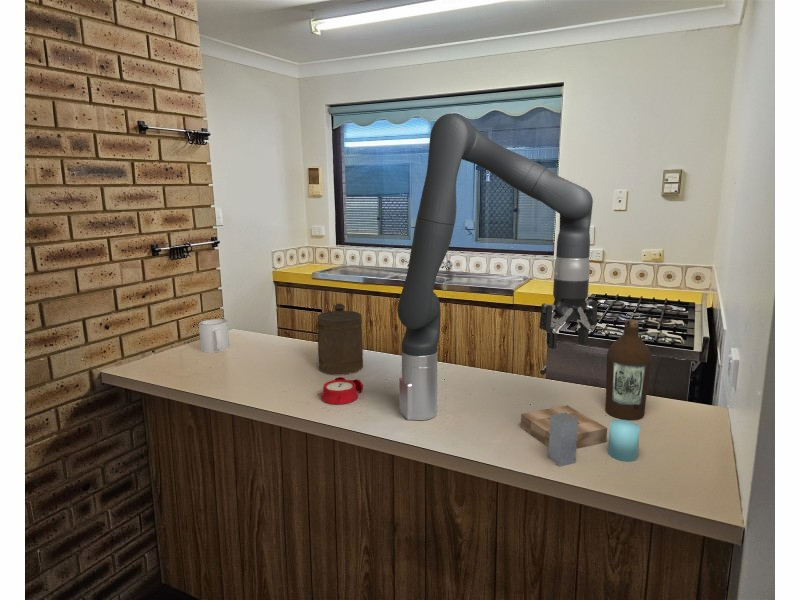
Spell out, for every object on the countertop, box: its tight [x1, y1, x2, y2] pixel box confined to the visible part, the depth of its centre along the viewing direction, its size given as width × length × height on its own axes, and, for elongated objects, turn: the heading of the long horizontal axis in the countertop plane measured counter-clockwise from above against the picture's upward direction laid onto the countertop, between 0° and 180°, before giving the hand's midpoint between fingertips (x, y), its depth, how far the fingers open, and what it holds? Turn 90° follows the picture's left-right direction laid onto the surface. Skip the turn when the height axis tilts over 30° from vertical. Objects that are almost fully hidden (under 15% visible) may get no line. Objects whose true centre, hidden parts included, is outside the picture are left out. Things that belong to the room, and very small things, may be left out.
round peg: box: [607, 419, 641, 463], centre depth 112 cm, size 6×6×7 cm
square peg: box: [547, 412, 578, 468], centre depth 110 cm, size 4×4×10 cm
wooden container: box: [317, 303, 364, 375], centre depth 170 cm, size 15×15×22 cm
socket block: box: [520, 405, 608, 450], centre depth 122 cm, size 14×14×4 cm
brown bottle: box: [604, 318, 653, 421], centre depth 132 cm, size 11×11×25 cm
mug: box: [198, 318, 230, 354], centre depth 192 cm, size 14×10×11 cm
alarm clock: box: [317, 376, 364, 405], centre depth 147 cm, size 10×6×15 cm
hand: (567, 346), depth 118 cm, fingers open, 8 cm apart
